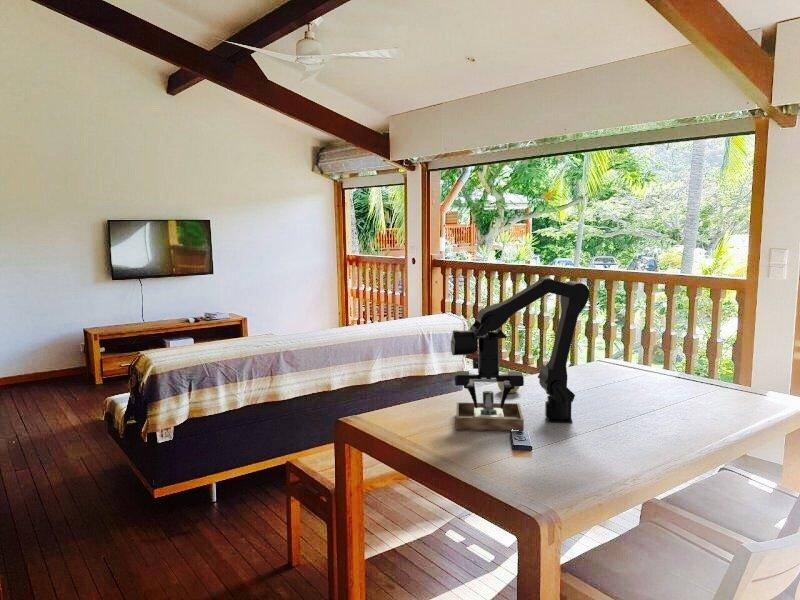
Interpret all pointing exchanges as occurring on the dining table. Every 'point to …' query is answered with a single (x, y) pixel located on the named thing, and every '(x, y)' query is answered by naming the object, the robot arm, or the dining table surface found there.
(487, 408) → the peg
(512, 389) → the fruit
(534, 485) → the dining table surface
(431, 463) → the dining table surface
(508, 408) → the crate
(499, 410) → the bore plate
